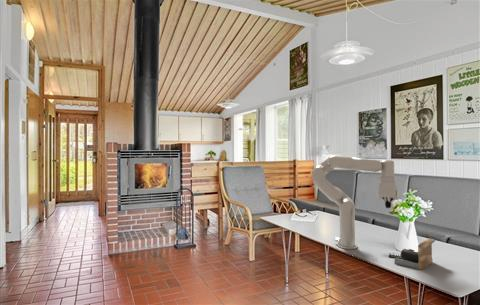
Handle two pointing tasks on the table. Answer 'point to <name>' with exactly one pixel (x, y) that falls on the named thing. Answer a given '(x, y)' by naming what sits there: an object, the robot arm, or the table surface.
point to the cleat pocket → (406, 263)
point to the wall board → (425, 253)
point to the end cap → (409, 255)
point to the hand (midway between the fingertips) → (388, 207)
